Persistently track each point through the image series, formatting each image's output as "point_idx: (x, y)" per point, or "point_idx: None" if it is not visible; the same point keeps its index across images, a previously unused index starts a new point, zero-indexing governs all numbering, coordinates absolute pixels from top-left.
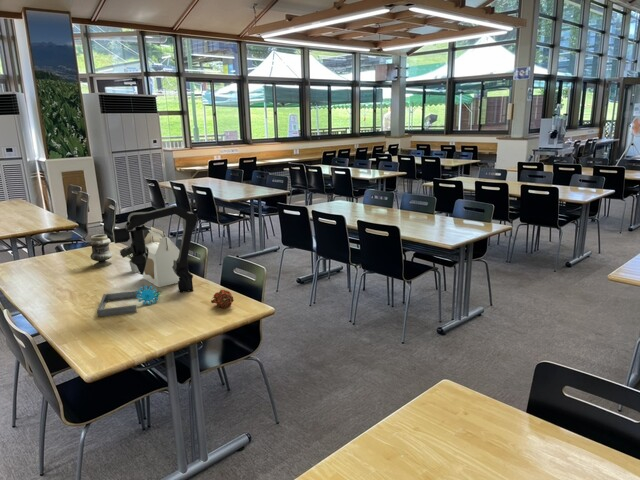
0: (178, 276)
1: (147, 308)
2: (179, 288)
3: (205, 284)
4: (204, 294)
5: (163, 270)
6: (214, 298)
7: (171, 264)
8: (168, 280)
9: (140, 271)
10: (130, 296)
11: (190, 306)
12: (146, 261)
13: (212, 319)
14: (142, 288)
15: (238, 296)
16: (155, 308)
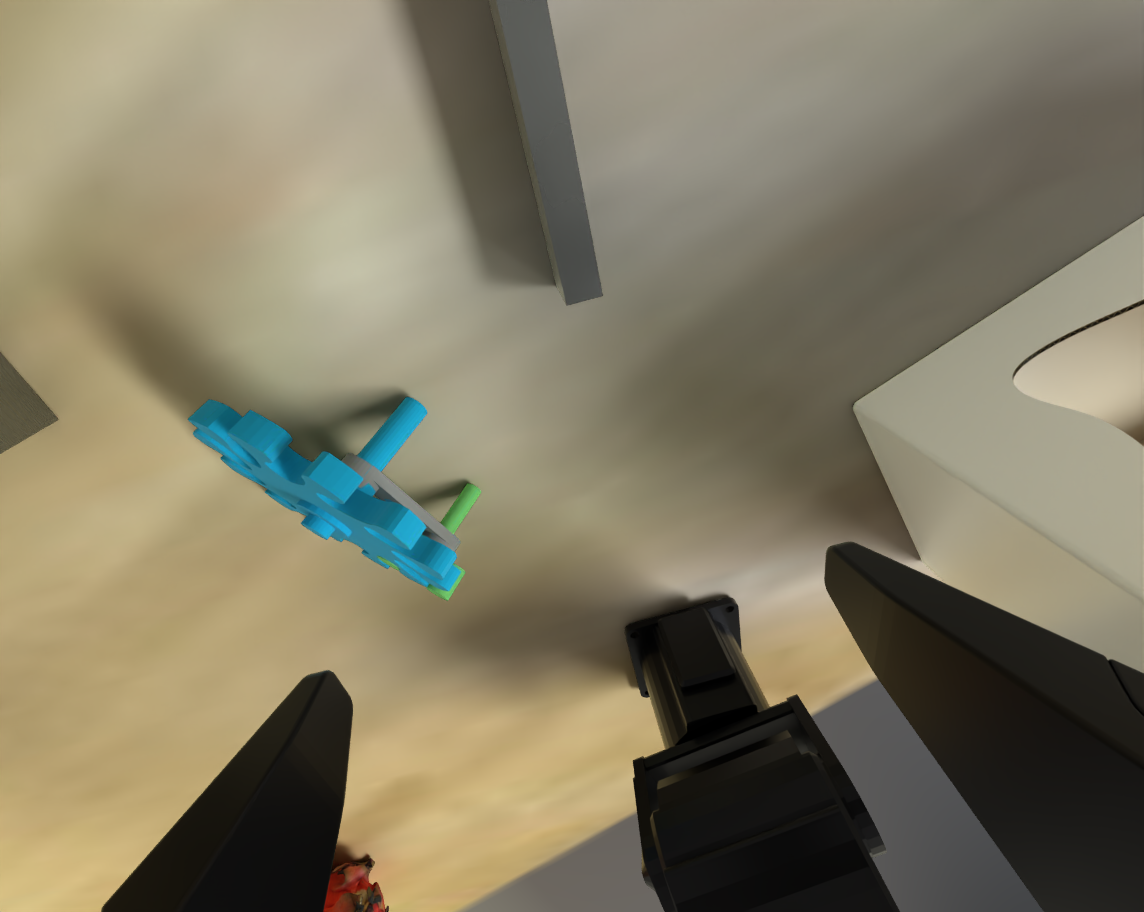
0: (658, 788)
1: (184, 498)
2: (662, 638)
3: None
4: (557, 757)
5: (1026, 570)
6: (338, 899)
7: None
8: (918, 507)
9: (236, 793)
10: (528, 165)
11: None
12: (989, 831)
13: (104, 889)
14: (330, 497)
15: (501, 878)
16: (205, 566)
